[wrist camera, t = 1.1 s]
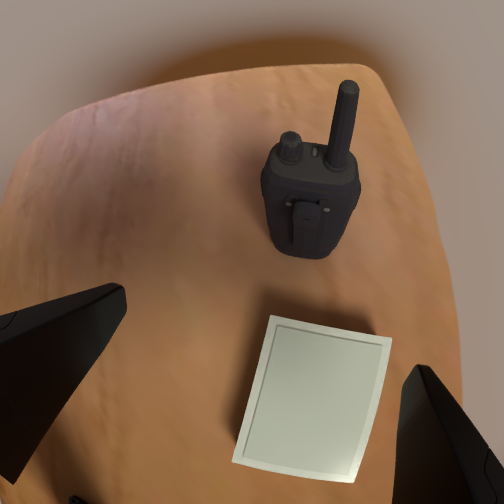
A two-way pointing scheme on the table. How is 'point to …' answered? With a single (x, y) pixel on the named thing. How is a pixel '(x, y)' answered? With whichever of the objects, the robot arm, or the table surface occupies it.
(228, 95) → the table surface
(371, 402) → the sage tile
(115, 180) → the table surface
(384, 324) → the table surface
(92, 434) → the table surface
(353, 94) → the two-way radio
